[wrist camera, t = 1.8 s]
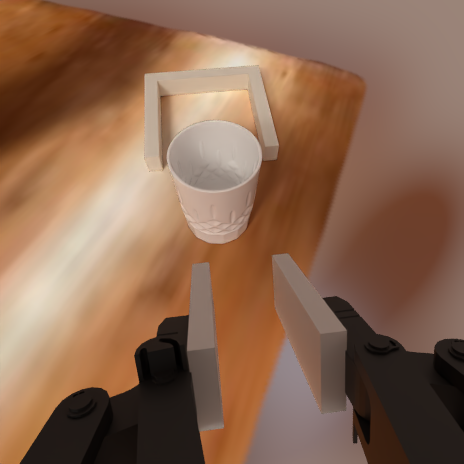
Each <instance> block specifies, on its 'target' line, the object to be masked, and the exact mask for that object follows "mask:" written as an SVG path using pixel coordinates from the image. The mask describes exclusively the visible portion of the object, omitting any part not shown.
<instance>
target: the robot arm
mask: <svg viewBox="0 0 464 464" xmlns="http://www.w3.org/2000/svg"><path fill="white" fill-rule="evenodd" d="M272 264H273V282H274V300H275V309H276V311H277V314H278V316H279V318H280V321H281V323H282V325H283V327H284V330H285V332H286V334H287V336H288V339H289V341H290V343H291V345H292V348H293V350H294V352H295V354H296V357H297V359H298V361H299V364H300V366H301V368H302V371H303V373H304V375H305V377H306V379H307V382H308V384H309V386H310V389H311V391H312V393H313V396H314V398H315V400H316V402H317V404H318V407H319V409H320V411H321V413H322V414H324V413H331V412H338V411H345V410H346V395H347V396H348V398H349V400H350V402H351V403H352V405H353V443H357V435H358V436H359V439H360V442H361V445H362V448H363V450H364V453H365V456H366V459H367V462H368V464H464V340H461V339H460V340H459V339H444V340H441V341H439V342H437V344H436V345H435V349H434V354H430V353H416V352H408V351H406V350H405V349H404V347H403V346H402V345H401V344H400V343H399V342H398V341H396V340H394V339H392V338H390V337H388V336H383V335H380V334H379V335H378V334H376V333H375V332H374V331H373V330H372V328H371V327H370V326H369V325H368V324H367V323H366V322H365V321H364V320H363V318H362V317H360V316H359V314H358V313H357V312H356V311H354V308H352V306H351V305H350V304H349V303H348V302H347V301H345V300H343V299H341V298H339V297H337V296H335V297H326V298H322V297H321V296H320V295H319V293H318V292H317V291H316V289H314V287H313V286H312V284H311V283H310V282H309V280H308V279H307V278H306V276H305V275H304V274H303V272H302V271H301V270H300V268H299V267H298V266H297V264H296V263H295V262H294V261H293V259H292V258H291V257H290V255H289V254H288V253H287V254H278V255H272ZM134 356H135V362H136V367H137V372H138V377H139V384H138V385H137V386H136V387H134V388H132V389H131V390H128V391H126V392H124V393H121V394H119V395H116V396H113V397H109V395H108V393H107V391H105V390H103V389H102V388H93V387H92V388H87V389H82V390H80V391H77V392H75V393H73V394H71V395H70V396H68V397H67V398H65V399H64V400H62V402H61V403H60V404H59V405H58V406H57V407H56V408H55V410H54V412H53V413H52V415H51V416H50V418H49V419H48V421H47V422H46V424H45V425H44V427H43V429H42V430H41V432H40V433H39V435H38V436H37V438H36V439H35V441H34V442H33V444H32V445H31V447H30V449H29V450H28V452H27V453H26V455H25V456H24V458H23V459H22V461H21V462H20V464H205V461H204V455H203V450H202V444H201V439H200V433H199V431H206V430H213V429H220V428H224V421H223V409H222V397H221V385H220V372H219V360H218V348H217V336H216V323H215V312H214V303H213V294H212V285H211V276H210V267H209V262H207V263H198V264H192V278H191V294H190V310H189V315H187V316H178V317H170V318H165V320H164V321H163V322H162V323H161V324H160V325H159V327H158V331H157V336H156V338H152V339H150V340H148V341H146V342H144V343H142V344H141V345H140V346H139V347H138V348H137V349H136V352H135V355H134Z"/></svg>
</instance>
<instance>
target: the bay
mask: <svg viewBox="0 0 464 464" xmlns="http://www.w3.org/2000/svg"><path fill="white" fill-rule="evenodd" d="M245 89H248V93H249V98H250V102H251V107H252V112H253V116H254V121H255V125H256V130H257V134H258V139H259V143H260V146H261V149H262V157H263V161H268V160H277V154H278V149H279V143H278V139H277V135H276V132H275V128H274V124H273V120H272V116H271V112H270V108H269V105H268V101H267V97H266V93H265V89H264V85H263V81H262V77H261V74H260V70H259V66H258V65H255V66H241V67H228V68H215V69H202V70H189V71H175V72H162V73H149V74H145V145H144V158H145V161H146V164H147V167H148V170H149V172H151V171H161V170H163V163H162V130H161V98H160V96H170V95H182V94H195V93H207V92H220V91H232V90H245Z"/></svg>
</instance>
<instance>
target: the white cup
mask: <svg viewBox="0 0 464 464" xmlns="http://www.w3.org/2000/svg"><path fill="white" fill-rule="evenodd" d="M261 163H262V149H261V146H260V143H259V142H258V140H257V138H256V137H255V136H254V135H253V134H252V133H251V132H250V131H249V130H247V129H246V128H244V127H243V126H241V125H238V124H236V123H233V122H229V121H223V120H208V121H202V122H198V123H195V124H192V125H190V126H188V127H186V128H185V129H183V130H182V131H180V132H179V133H178V134H177V135H176V136H175V137H174V138H173V140H172V141H171V143H170V145H169V147H168V151H167V164H168V167H169V170H170V173H171V177H172V180H173V183H174V186H175V189H176V193H177V196H178V199H179V202H180V204H181V207H182V210H183V212H184V215H185V217H186V220H187V223H188V226H189V228H190V229H191V231H192V232H193V233H194V234H195V236H196V237H197V238H199V239H201V240H204V241H206V242H208V243H216V244H224V243H227V242H230V241H232V240H235V239H237V238H238V237H239V236H240V235H241V234H242V233H243V232H244V231H245V230H246V229H247V225H248V222H249V218H250V213H251V211H252V208H253V203H254V200H255V195H256V189H257V184H258V178H259V173H260V168H261Z"/></svg>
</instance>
